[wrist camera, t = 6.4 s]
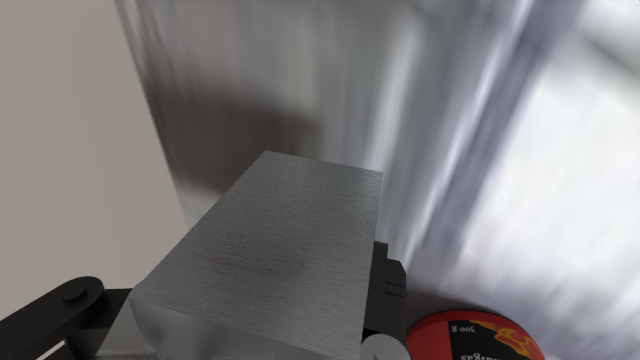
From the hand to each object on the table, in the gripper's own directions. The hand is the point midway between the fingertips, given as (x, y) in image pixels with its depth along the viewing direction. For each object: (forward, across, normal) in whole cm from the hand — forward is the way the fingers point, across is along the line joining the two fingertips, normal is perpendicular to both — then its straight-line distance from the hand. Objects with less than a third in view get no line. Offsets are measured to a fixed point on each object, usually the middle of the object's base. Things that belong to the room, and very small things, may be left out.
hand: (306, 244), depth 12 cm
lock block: (+1, 0, 0) cm, 1 cm away
